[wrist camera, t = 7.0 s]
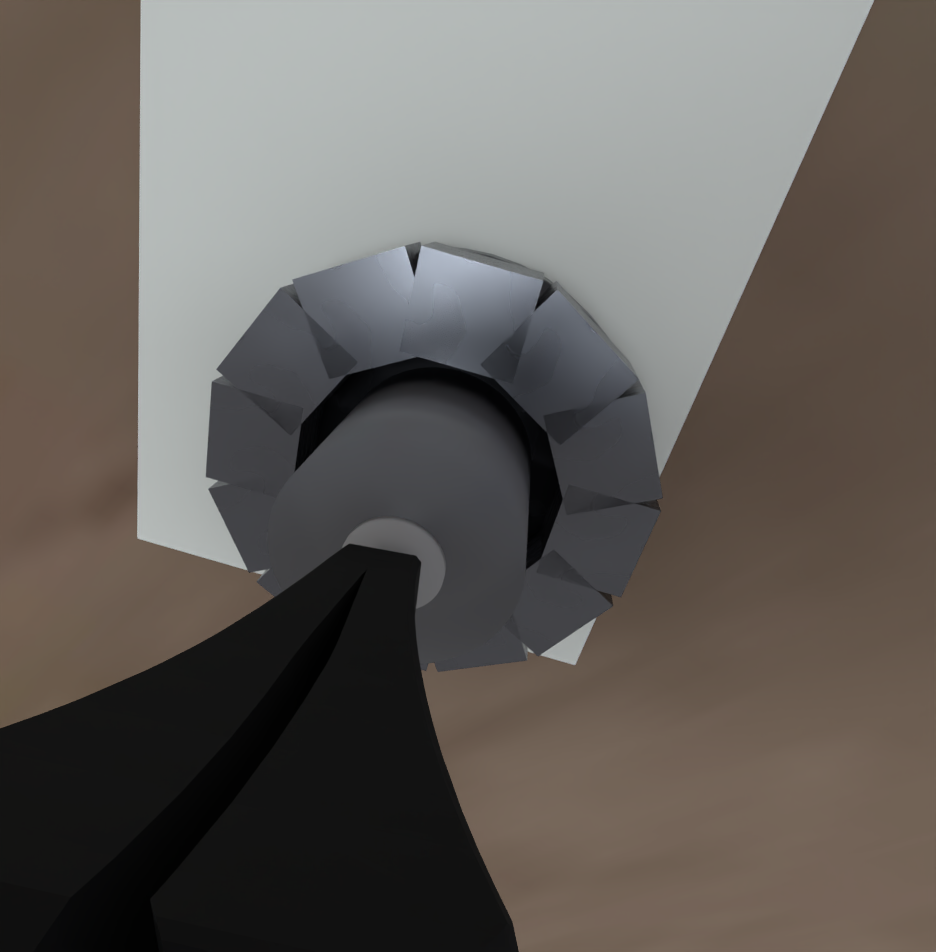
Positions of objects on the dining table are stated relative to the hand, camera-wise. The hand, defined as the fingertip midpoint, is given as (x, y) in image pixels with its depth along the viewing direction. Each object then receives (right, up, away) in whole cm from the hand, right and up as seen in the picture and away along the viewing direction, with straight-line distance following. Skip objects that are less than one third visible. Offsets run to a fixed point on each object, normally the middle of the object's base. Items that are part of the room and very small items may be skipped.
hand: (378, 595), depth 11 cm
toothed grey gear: (+1, +3, +6) cm, 7 cm away
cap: (+1, +3, +5) cm, 6 cm away
